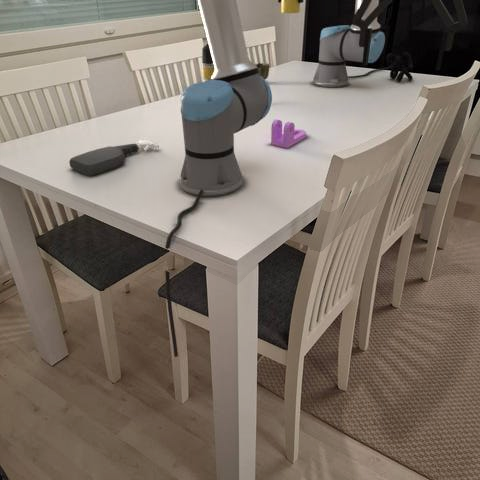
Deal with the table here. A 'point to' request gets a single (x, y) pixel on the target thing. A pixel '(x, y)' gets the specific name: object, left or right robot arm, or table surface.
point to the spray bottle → (106, 157)
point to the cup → (263, 70)
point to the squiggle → (399, 66)
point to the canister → (290, 6)
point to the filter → (207, 62)
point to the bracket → (285, 134)
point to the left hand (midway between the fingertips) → (400, 67)
